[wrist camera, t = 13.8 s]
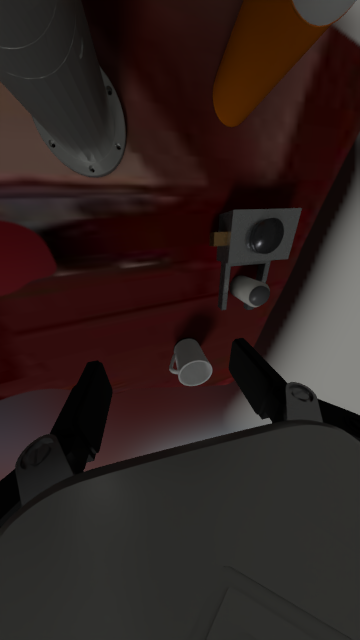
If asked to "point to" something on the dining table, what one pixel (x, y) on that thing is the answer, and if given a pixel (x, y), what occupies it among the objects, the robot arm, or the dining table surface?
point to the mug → (190, 363)
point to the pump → (249, 291)
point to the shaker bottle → (267, 50)
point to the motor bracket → (252, 241)
